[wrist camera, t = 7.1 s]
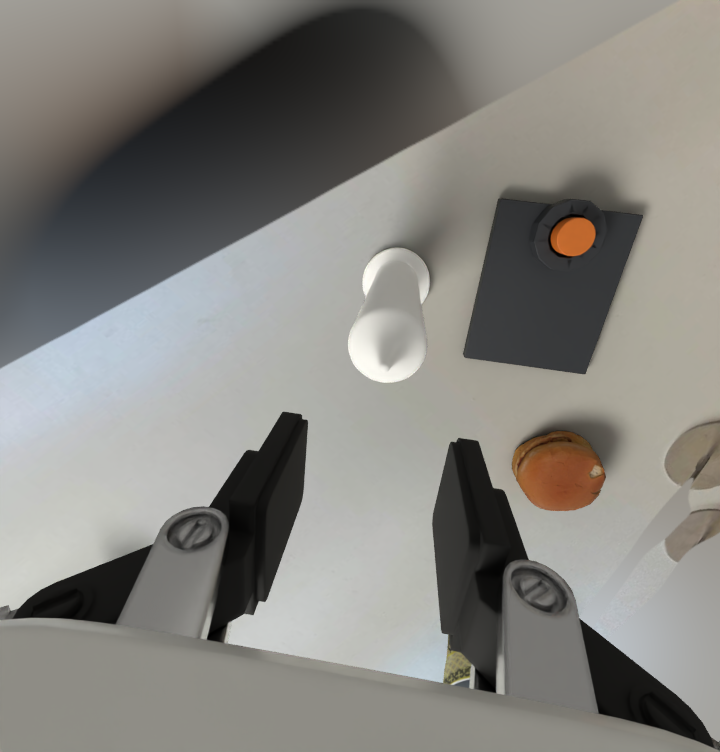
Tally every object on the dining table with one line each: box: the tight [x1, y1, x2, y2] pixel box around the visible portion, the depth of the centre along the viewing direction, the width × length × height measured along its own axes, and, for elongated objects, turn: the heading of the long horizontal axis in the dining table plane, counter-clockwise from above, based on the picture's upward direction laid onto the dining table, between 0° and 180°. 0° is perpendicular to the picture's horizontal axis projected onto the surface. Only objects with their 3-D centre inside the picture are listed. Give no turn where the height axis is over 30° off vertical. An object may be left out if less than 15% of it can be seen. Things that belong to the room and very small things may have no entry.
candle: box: [348, 248, 430, 383], centre depth 31 cm, size 7×7×25 cm
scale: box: [463, 199, 643, 374], centre depth 40 cm, size 16×13×3 cm
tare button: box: [551, 217, 596, 256], centre depth 36 cm, size 3×3×2 cm
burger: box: [512, 431, 606, 511], centre depth 47 cm, size 10×9×5 cm
